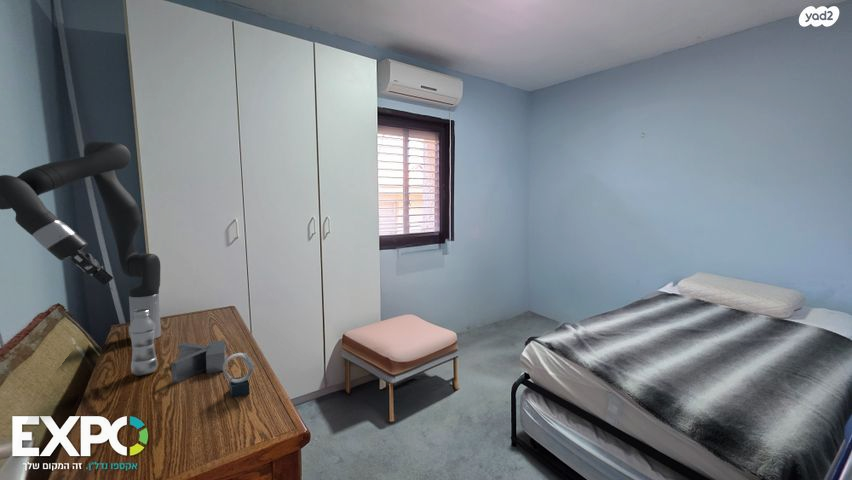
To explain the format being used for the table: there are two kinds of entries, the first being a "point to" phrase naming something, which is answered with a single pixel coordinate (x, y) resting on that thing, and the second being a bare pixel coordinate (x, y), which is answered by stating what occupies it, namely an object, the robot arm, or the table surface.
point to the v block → (198, 359)
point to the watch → (239, 384)
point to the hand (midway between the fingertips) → (109, 281)
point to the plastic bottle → (142, 343)
